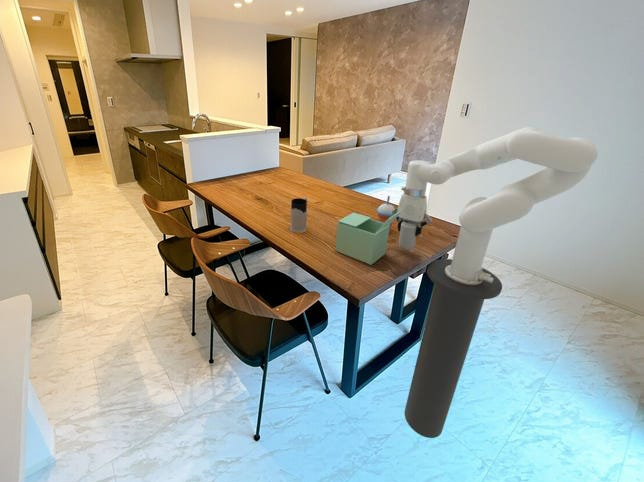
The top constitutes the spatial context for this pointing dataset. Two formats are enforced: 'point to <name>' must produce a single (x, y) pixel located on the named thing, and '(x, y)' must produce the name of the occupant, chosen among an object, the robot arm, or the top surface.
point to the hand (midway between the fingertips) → (408, 232)
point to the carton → (361, 238)
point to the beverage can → (407, 234)
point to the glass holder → (298, 215)
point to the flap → (389, 221)
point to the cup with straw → (385, 212)
